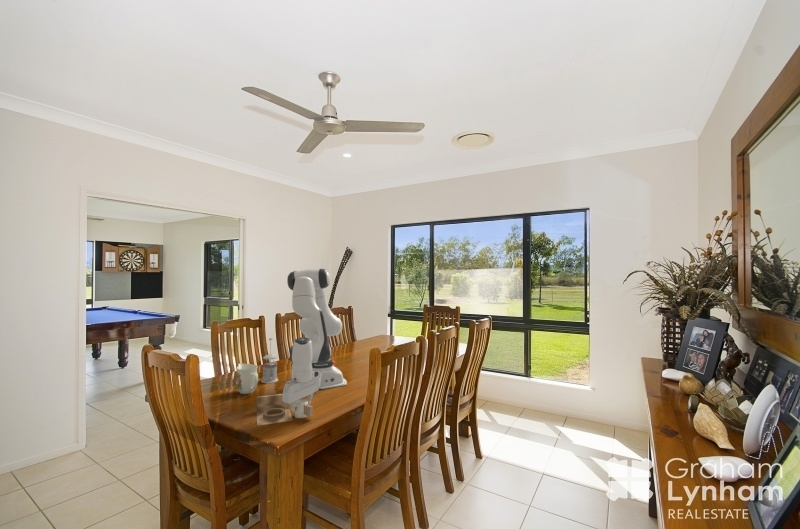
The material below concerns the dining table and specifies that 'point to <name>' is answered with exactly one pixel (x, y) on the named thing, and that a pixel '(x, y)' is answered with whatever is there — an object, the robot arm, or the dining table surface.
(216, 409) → the dining table surface
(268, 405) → the stand
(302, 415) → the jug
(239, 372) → the pitcher
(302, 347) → the robot arm
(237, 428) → the dining table surface
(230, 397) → the dining table surface
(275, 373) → the french press
